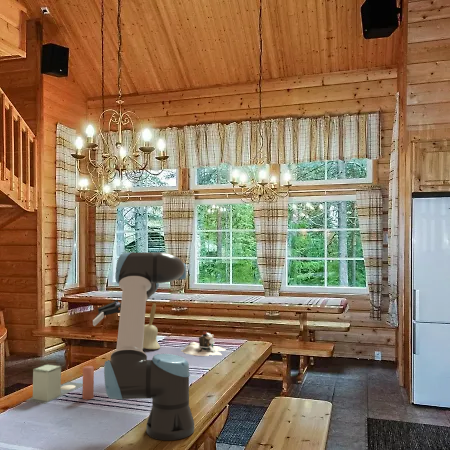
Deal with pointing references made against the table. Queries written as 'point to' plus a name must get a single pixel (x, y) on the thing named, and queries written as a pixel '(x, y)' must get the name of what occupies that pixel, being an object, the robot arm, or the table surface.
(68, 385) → the board
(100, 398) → the table surface
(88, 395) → the peg
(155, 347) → the handbell
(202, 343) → the cabin
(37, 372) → the pale green block
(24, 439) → the table surface
